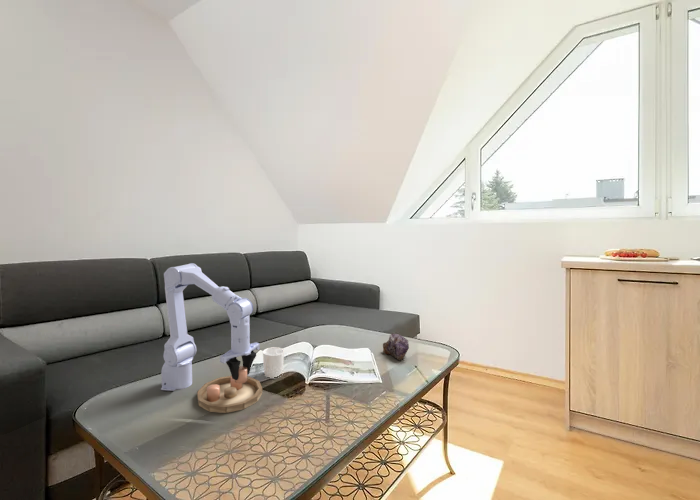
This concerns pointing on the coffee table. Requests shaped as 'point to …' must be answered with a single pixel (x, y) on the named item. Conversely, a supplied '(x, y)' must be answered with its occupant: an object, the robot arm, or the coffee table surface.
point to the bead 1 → (213, 393)
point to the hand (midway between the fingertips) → (240, 376)
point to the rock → (396, 346)
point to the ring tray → (238, 398)
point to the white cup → (273, 361)
